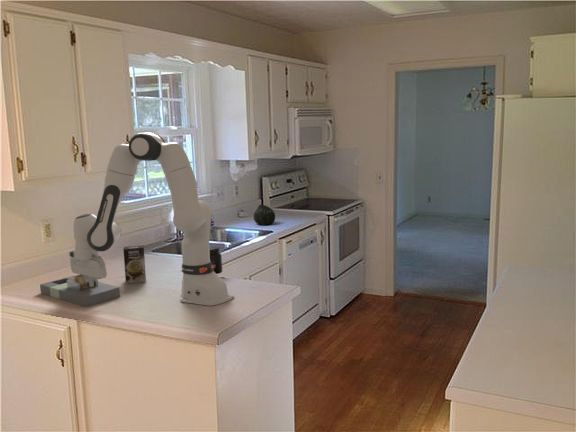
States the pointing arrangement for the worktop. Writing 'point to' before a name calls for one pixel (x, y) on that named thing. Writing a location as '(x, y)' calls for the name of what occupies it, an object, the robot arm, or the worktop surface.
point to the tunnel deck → (79, 291)
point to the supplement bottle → (216, 259)
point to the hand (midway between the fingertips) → (90, 286)
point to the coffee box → (134, 264)
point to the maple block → (81, 281)
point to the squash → (264, 215)
